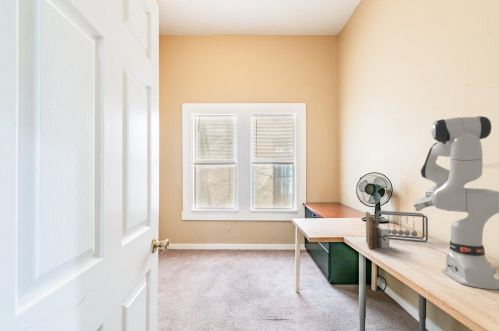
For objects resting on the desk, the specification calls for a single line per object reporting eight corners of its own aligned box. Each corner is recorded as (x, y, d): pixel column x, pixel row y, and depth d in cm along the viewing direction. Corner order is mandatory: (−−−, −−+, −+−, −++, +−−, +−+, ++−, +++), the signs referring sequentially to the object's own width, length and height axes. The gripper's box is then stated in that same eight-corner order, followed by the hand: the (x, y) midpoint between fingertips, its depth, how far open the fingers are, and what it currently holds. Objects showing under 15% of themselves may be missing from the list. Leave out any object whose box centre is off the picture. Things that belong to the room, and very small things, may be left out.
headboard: (377, 249, 157) (377, 217, 158) (368, 249, 159) (368, 216, 159) (373, 241, 176) (373, 212, 177) (365, 240, 178) (365, 211, 178)
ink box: (375, 244, 170) (375, 225, 170) (383, 244, 169) (383, 225, 170) (381, 248, 161) (381, 228, 161) (389, 248, 161) (389, 228, 161)
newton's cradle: (424, 239, 184) (424, 213, 185) (428, 242, 174) (427, 215, 175) (376, 234, 196) (376, 210, 196) (377, 238, 186) (377, 212, 186)
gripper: (421, 194, 167) (404, 207, 166) (440, 188, 148) (422, 203, 146) (428, 202, 166) (412, 216, 164) (449, 197, 146) (431, 212, 145)
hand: (417, 210), depth 155 cm, fingers closed
